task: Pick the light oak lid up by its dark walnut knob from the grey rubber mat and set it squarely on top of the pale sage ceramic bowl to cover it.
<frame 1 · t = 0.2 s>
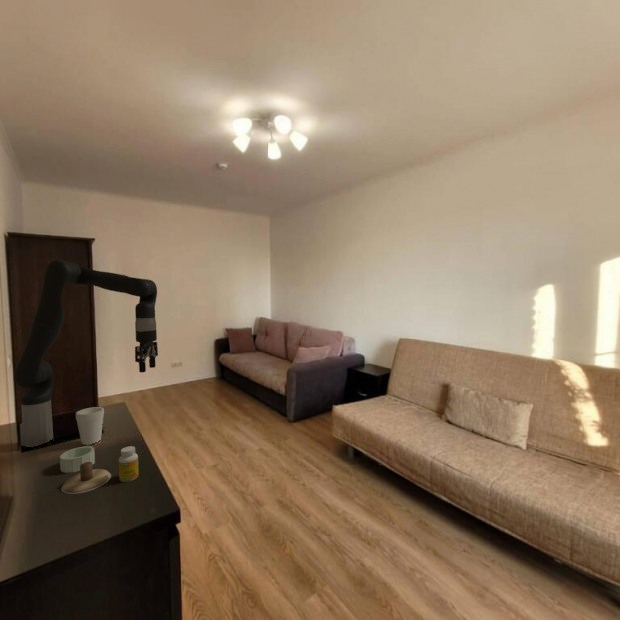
hand: (147, 369, 135), 29 cm above the table, fingers open, 8 cm apart
foam cup: (91, 443, 136), on the table
mat: (87, 483, 105), on the table
bowl: (78, 466, 116), on the table
lid: (87, 481, 105), point 1 cm above the table, touching mat
pacifier: (95, 430, 150), on the table
supplement bottle: (129, 479, 107), on the table
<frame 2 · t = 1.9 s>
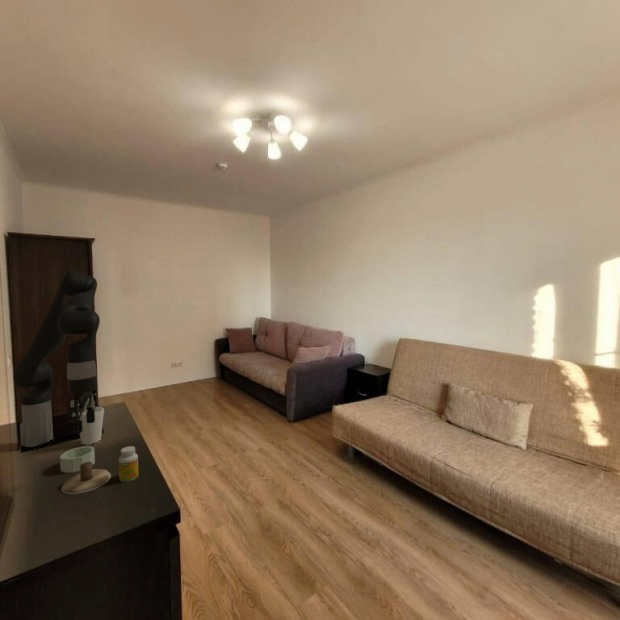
hand: (84, 427, 105), 18 cm above the table, fingers open, 8 cm apart
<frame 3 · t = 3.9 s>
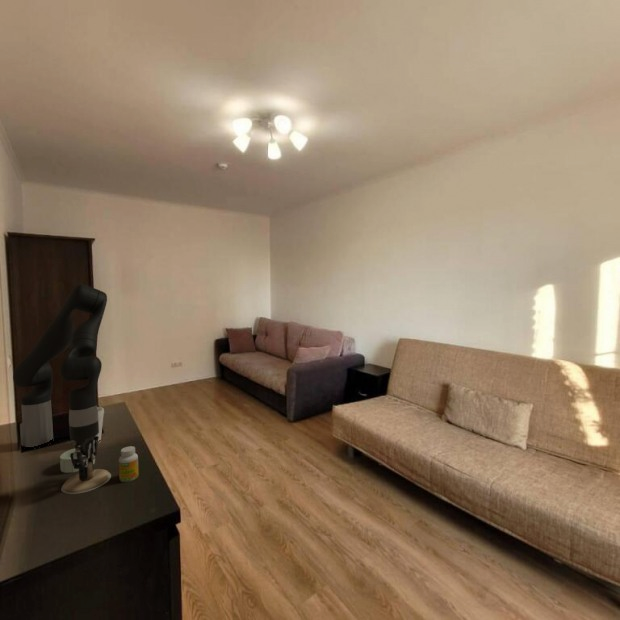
hand: (86, 475, 105), 3 cm above the table, fingers closed on lid, 3 cm apart
lid: (86, 481, 105), point 1 cm above the table, touching gripper, mat
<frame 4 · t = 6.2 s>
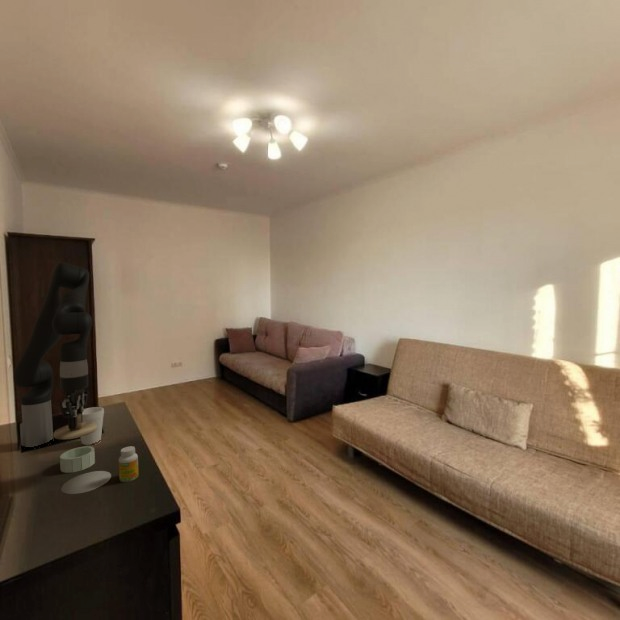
hand: (75, 425, 110), 16 cm above the table, fingers closed on lid, 3 cm apart
lid: (75, 431, 110), point 14 cm above the table, touching gripper
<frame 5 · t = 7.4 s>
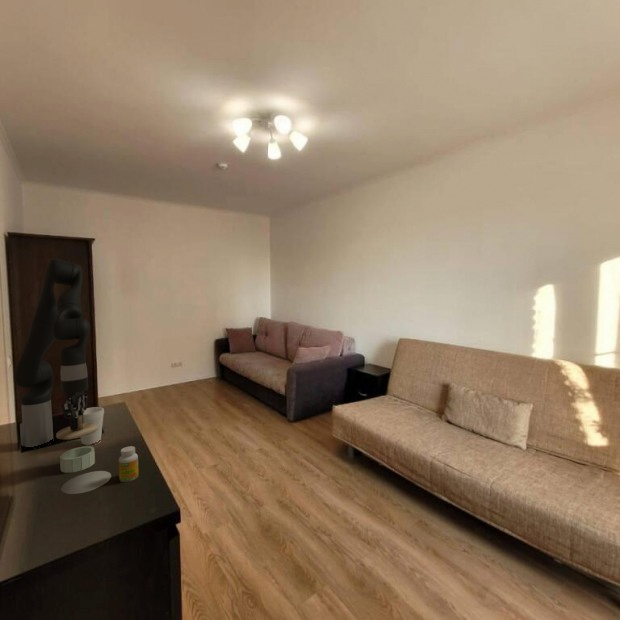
hand: (77, 426, 116), 14 cm above the table, fingers closed on lid, 3 cm apart
lid: (77, 432, 116), point 12 cm above the table, touching gripper
when the fingers open (8 cm above the table, at t = 8.6 s): lid drops 2 cm, resting on bowl.
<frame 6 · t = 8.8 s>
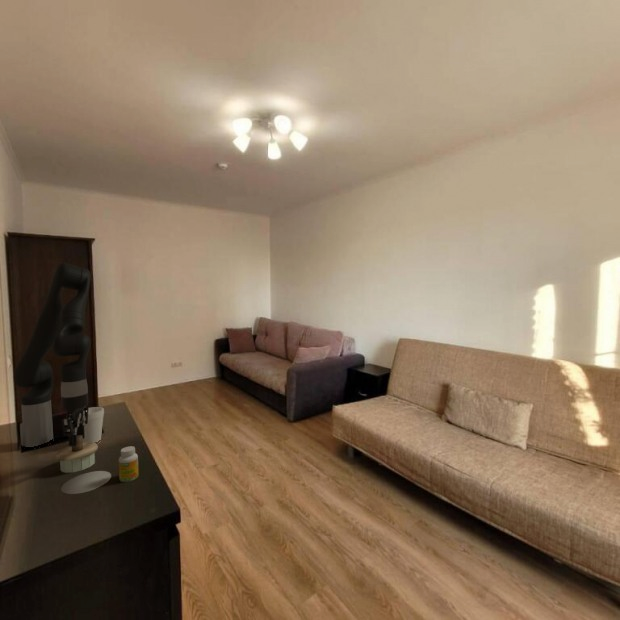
hand: (77, 442, 116), 9 cm above the table, fingers open, 5 cm apart
lid: (77, 452, 116), point 5 cm above the table, touching bowl
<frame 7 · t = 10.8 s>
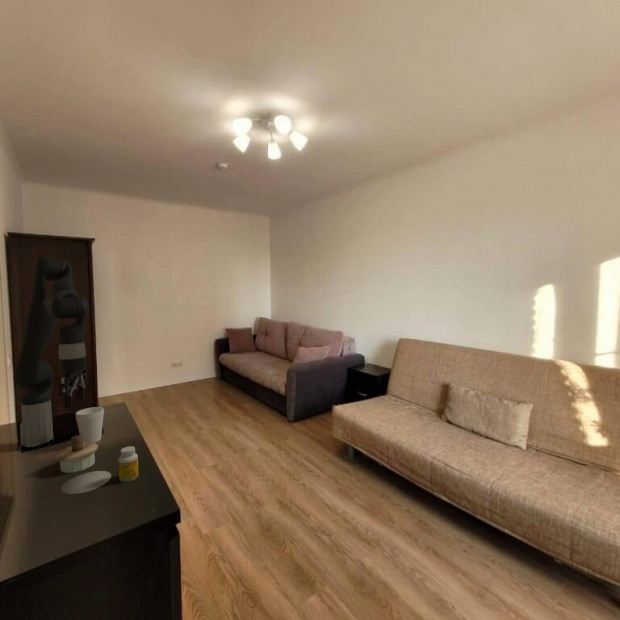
hand: (74, 403, 115), 22 cm above the table, fingers open, 8 cm apart
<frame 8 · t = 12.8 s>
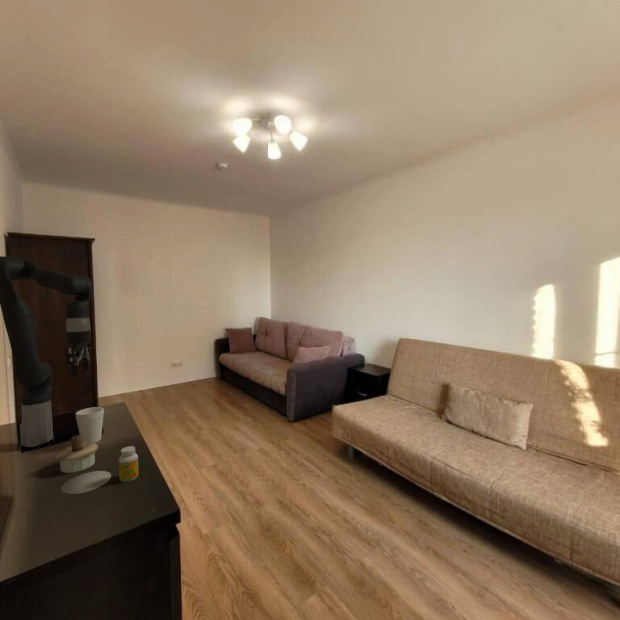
hand: (80, 373, 126), 30 cm above the table, fingers open, 8 cm apart
at the end: lid 0.0 cm off-centre on the bowl, point 5.0 cm above the bowl's base; lid tilted 0°; the gripper is holding nothing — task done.
